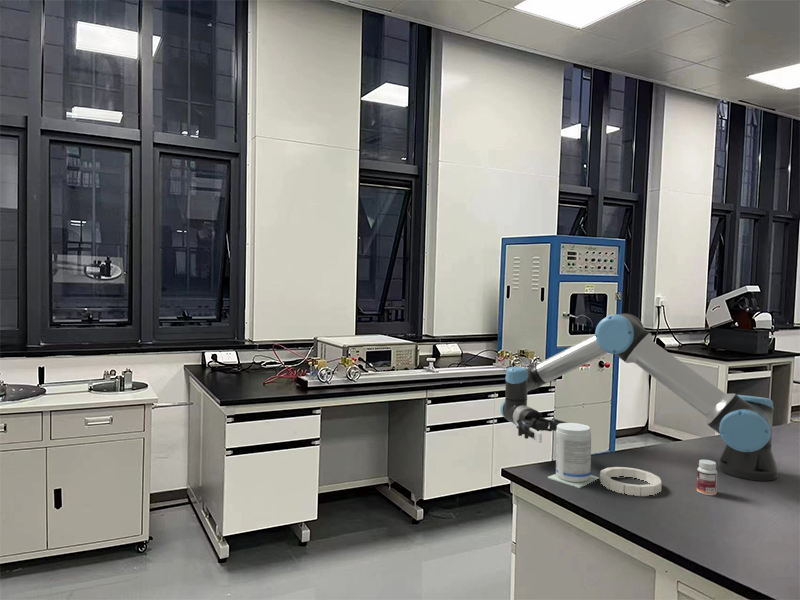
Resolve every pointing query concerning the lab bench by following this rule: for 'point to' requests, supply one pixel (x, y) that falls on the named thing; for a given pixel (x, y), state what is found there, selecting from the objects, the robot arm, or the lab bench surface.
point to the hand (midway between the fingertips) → (561, 437)
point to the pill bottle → (707, 477)
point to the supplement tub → (573, 452)
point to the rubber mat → (575, 484)
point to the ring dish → (630, 488)
